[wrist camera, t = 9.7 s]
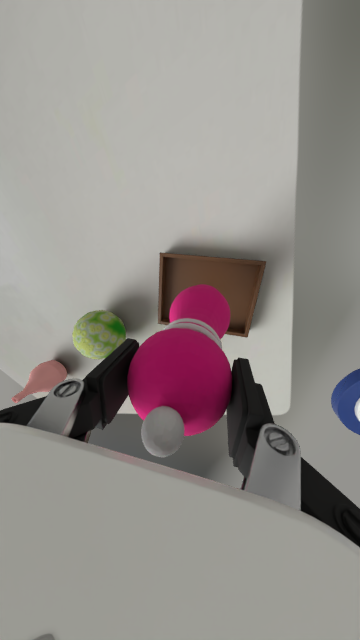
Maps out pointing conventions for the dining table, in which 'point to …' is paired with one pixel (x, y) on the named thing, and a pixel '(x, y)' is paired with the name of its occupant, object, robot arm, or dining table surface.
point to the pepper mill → (182, 371)
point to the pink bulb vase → (43, 379)
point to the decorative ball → (98, 334)
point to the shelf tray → (212, 284)
